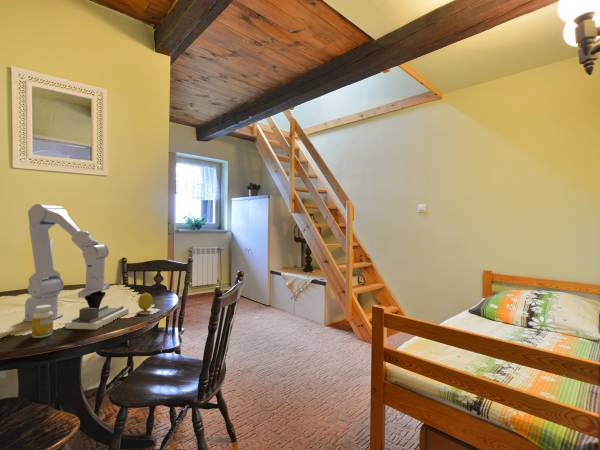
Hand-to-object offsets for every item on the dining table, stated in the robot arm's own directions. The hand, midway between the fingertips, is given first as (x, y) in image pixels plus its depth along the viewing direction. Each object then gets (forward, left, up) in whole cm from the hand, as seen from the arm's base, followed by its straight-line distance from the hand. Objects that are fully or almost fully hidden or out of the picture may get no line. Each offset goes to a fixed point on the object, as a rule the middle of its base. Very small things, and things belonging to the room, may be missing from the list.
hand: (94, 312), depth 116 cm
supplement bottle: (-8, -14, -4) cm, 16 cm away
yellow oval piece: (+11, +17, -4) cm, 21 cm away
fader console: (0, +3, -4) cm, 5 cm away
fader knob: (0, -3, -2) cm, 3 cm away
